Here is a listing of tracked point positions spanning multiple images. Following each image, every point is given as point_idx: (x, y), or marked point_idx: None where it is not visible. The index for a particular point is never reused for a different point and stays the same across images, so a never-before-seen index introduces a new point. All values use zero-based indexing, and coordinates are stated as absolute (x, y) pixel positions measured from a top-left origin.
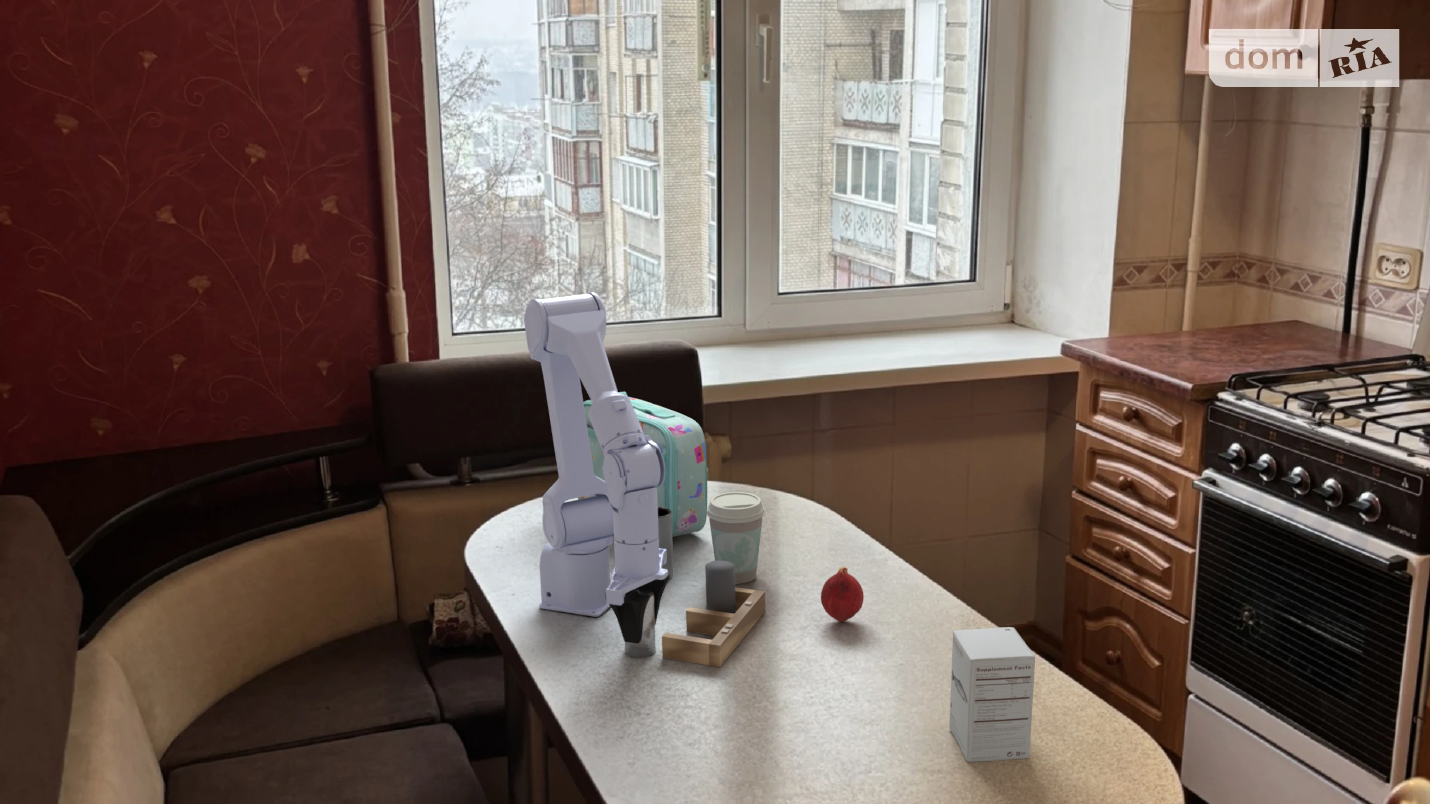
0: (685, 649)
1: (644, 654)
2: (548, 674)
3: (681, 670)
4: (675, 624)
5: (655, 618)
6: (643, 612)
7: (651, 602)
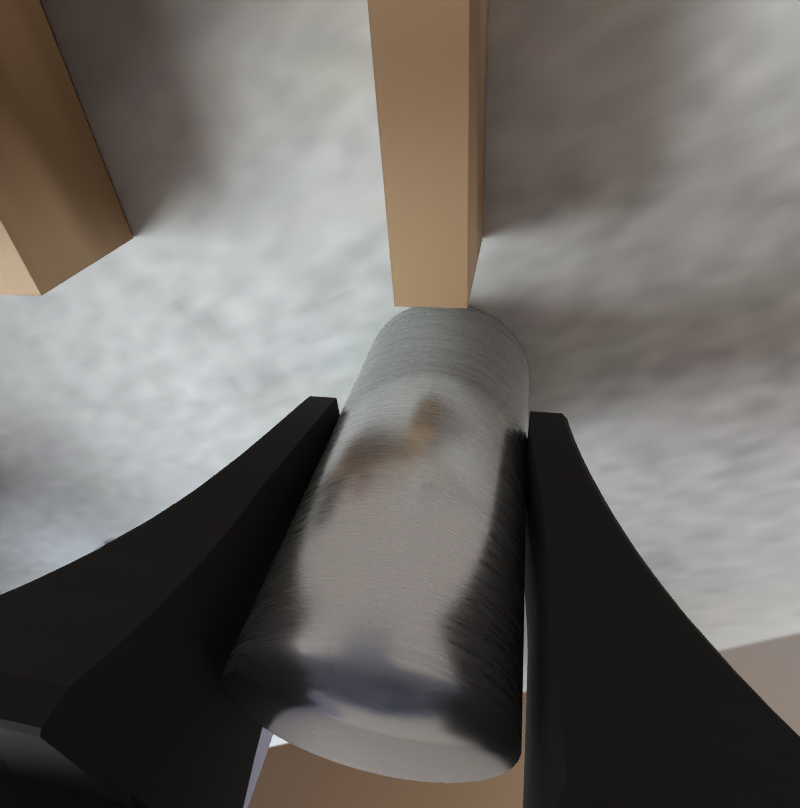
0: (478, 57)
1: (512, 343)
2: (761, 612)
3: (642, 5)
4: (118, 319)
5: (304, 430)
6: (598, 601)
7: (389, 597)
